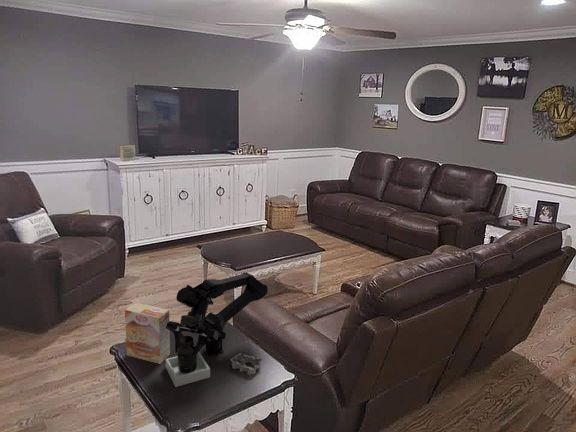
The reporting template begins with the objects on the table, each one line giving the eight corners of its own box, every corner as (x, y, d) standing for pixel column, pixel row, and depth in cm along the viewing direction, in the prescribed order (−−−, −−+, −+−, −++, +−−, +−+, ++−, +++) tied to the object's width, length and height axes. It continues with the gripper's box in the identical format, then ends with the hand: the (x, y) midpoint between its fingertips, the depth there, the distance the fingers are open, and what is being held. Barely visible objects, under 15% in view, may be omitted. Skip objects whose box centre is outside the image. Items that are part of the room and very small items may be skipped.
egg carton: (263, 367, 164) (263, 358, 163) (251, 377, 158) (251, 368, 157) (240, 358, 170) (241, 348, 168) (228, 367, 163) (228, 357, 162)
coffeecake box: (126, 355, 166) (124, 309, 161) (137, 346, 173) (136, 301, 168) (160, 364, 162) (158, 317, 157) (170, 354, 169) (169, 309, 164)
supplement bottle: (179, 363, 161) (178, 334, 157) (198, 362, 161) (197, 333, 158) (176, 374, 154) (175, 344, 151) (195, 374, 155) (195, 344, 151)
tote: (198, 358, 167) (198, 350, 166) (210, 377, 156) (210, 368, 156) (165, 367, 161) (165, 359, 160) (175, 387, 150) (175, 378, 149)
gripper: (167, 300, 157) (152, 343, 150) (215, 309, 153) (202, 353, 146) (178, 310, 167) (164, 351, 159) (224, 318, 162) (211, 361, 155)
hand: (185, 354), depth 154 cm, fingers closed on supplement bottle, 7 cm apart
